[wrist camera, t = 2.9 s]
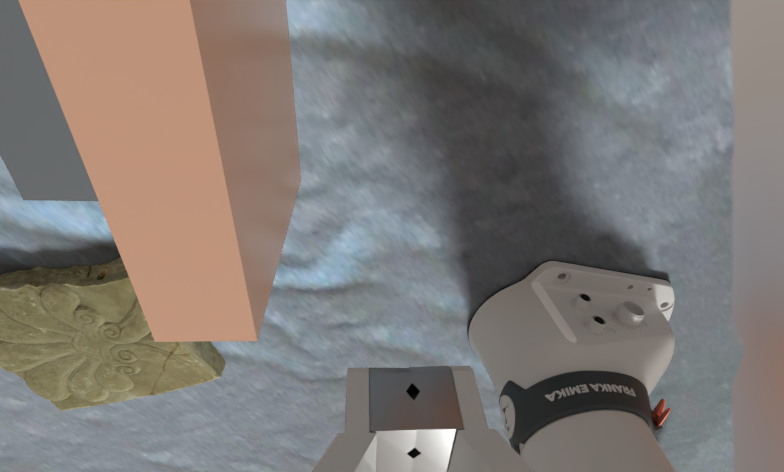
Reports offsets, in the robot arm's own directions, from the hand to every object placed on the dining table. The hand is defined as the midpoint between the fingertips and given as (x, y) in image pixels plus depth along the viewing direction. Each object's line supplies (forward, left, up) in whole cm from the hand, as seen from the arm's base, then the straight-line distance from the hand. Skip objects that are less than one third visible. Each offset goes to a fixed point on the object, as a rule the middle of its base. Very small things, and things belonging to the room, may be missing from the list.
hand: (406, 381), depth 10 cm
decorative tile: (+29, +26, -27) cm, 47 cm away
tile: (+9, 0, -26) cm, 28 cm away
